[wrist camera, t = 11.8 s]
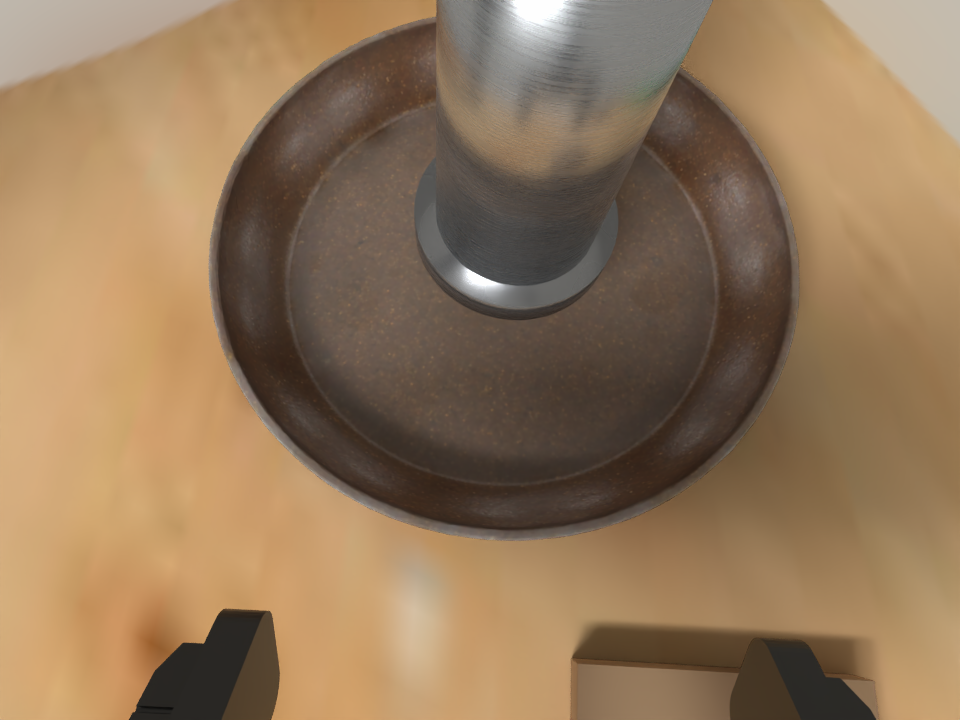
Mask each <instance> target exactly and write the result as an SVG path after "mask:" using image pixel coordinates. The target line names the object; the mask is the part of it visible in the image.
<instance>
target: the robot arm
mask: <svg viewBox="0 0 960 720" xmlns="http://www.w3.org/2000/svg"><path fill="white" fill-rule="evenodd" d="M279 677H280V671H279V662H278V655H277V647H276V640H275V632H274V625H273V618H272V614H271V612H270V611H259V610H240V609H223V610H222V611H221V612H220V613H219V614H218V616H217V618H216V620H215V622H214V624H213V626H212V628H211V630H210V632H209V634H208V636H207V639H206V641H205V643H204V644H200V643H182V644H181V645H180V646H179V647H178V648H177V649H176V650H175V651H174V652H173V653H172V654H171V655H170V656H169V657H168V658H167V659H166V660H165V661H164V662H163V663H162V664H161V665H160V666H159V667H158V668H157V669H156V670H155V672H154V673H153V675H152V677H151V679H150V681H149V683H148V685H147V687H146V689H145V690H144V692H143V694H142V696H141V698H140V700H139V702H138V704H137V705H136V706H137V708H136V711H135V713H134V712H133V713H132V715H131V717H130V719H129V720H271V718H272V715H273V712H274V709H275V705H276V700H277V695H278V689H279ZM730 720H876V718H875V716H874V714H873V713H872V711H871V709H870V708H869V707H868V706H867V705H866V704H865V703H864V702H863V701H862V700H861V699H860V698H859V697H858V696H857V695H856V694H855V693H854V692H853V691H852V689H851V688H850V687H849V686H848V685H847V684H846V683H845V682H844V681H843V680H842V679H841V678H833V677H826V676H825V675H824V673H823V671H822V669H821V667H820V665H819V663H818V661H817V659H816V658H815V656H814V654H813V652H812V650H811V649H810V647H809V646H808V645H807V644H806V643H805V642H803V641H801V640H788V639H769V638H754V639H753V640H752V641H751V643H750V645H749V647H748V650H747V653H746V655H745V658H744V661H743V664H742V666H741V669H740V672H739V674H738V677H737V680H736V682H735V685H734V688H733V690H732V693H731V697H730Z"/></svg>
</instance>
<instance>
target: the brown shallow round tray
mask: <svg viewBox="0 0 960 720" xmlns="http://www.w3.org/2000/svg"><path fill="white" fill-rule="evenodd" d="M435 157H436V17H432V18H427V19H422V20H418V21H415V22H411V23H408V24H405V25H401V26H398V27H396V28H393V29H390V30H387V31H383V32H381V33H378V34H376V35H374V36H372V37H369V38H366V39H364V40H362V41H360V42H358V43H357V44H354V45H352V46H350V47H348V48H346V49H345V50H343V51H341V52H339V53H338V54H336V55H334V56H333V57H331V58H329V59H328V60H326V61H324V62H323V63H322V64H320V65H319V66H318V67H317V68H316V69H315V70H313V71H312V72H310V73H309V74H307V75H306V76H305V77H304V78H302V79H301V80H300V81H299V82H297V83H296V84H295V85H294V86H293V87H292V88H290V89H289V90H288V91H287V92H286V93H285V94H284V95H283V96H282V97H281V98H280V99H279V100H278V101H277V102H276V103H275V104H274V105H273V106H272V107H271V108H270V110H269V111H268V112H267V113H266V114H265V116H264V117H263V118H262V119H261V121H260V122H259V123H258V124H257V125H256V126H255V128H254V130H253V131H252V133H251V134H250V136H249V137H248V139H247V141H246V142H245V144H244V145H243V147H242V148H241V150H240V153H239V155H238V156H237V158H236V159H235V161H234V163H233V165H232V167H231V170H230V172H229V174H228V176H227V179H226V182H225V184H224V187H223V189H222V194H221V197H220V199H219V202H218V205H217V209H216V213H215V218H214V224H213V229H212V234H211V239H210V252H209V286H210V297H211V303H212V311H213V316H214V321H215V325H216V328H217V332H218V336H219V339H220V343H221V346H222V349H223V351H224V354H225V357H226V359H227V362H228V364H229V367H230V369H231V371H232V373H233V375H234V377H235V379H236V381H237V383H238V385H239V387H240V388H241V390H242V392H243V393H244V395H245V397H246V399H247V400H248V402H249V403H250V405H251V406H252V408H253V409H254V411H255V412H256V413H257V415H258V416H259V417H260V419H261V420H262V422H263V423H264V424H265V426H266V427H267V428H268V430H269V431H270V432H271V433H272V434H273V435H274V436H275V437H276V439H277V440H278V441H279V442H280V443H281V444H282V445H283V446H284V447H285V448H286V449H287V450H288V451H289V452H290V453H291V454H292V455H293V456H294V457H295V458H296V459H298V460H299V461H300V462H301V463H302V464H303V465H304V466H305V467H307V468H308V469H309V470H310V471H311V472H313V473H314V474H315V475H316V476H318V477H319V478H320V479H322V480H323V481H325V482H326V483H327V484H329V485H330V486H332V487H333V488H335V489H336V490H338V491H339V492H341V493H342V494H344V495H346V496H348V497H349V498H351V499H353V500H355V501H357V502H358V503H360V504H362V505H364V506H366V507H367V508H369V509H372V510H374V511H376V512H378V513H381V514H383V515H385V516H388V517H390V518H393V519H395V520H398V521H401V522H404V523H407V524H410V525H413V526H417V527H420V528H423V529H427V530H431V531H435V532H439V533H444V534H448V535H454V536H461V537H467V538H476V539H485V540H506V541H524V540H537V539H549V538H558V537H565V536H571V535H576V534H580V533H585V532H590V531H594V530H597V529H601V528H604V527H607V526H610V525H613V524H616V523H619V522H623V521H626V520H629V519H631V518H633V517H636V516H638V515H640V514H642V513H645V512H647V511H649V510H651V509H653V508H655V507H657V506H659V505H661V504H662V503H664V502H666V501H668V500H670V499H672V498H673V497H675V496H676V495H678V494H679V493H681V492H682V491H684V490H685V489H687V488H688V487H690V486H691V485H692V484H694V483H695V482H697V481H698V480H699V479H701V478H702V477H703V476H704V475H705V474H707V473H708V472H709V471H710V470H711V469H712V468H713V467H715V466H716V465H717V464H718V463H719V462H720V461H721V460H722V459H723V458H724V457H725V456H726V455H728V454H729V453H730V452H731V451H732V450H733V449H734V447H735V446H736V445H737V444H738V442H739V441H740V440H741V439H742V437H743V436H744V435H745V434H746V432H747V431H748V430H749V429H750V427H751V426H752V425H753V423H754V422H755V421H756V419H757V418H758V416H759V415H760V413H761V412H762V410H763V409H764V407H765V405H766V403H767V401H768V399H769V398H770V396H771V394H772V392H773V390H774V388H775V386H776V384H777V382H778V380H779V377H780V375H781V372H782V370H783V367H784V364H785V362H786V359H787V356H788V353H789V350H790V346H791V343H792V339H793V335H794V331H795V326H796V318H797V311H798V306H799V260H798V251H797V245H796V238H795V235H794V230H793V225H792V222H791V218H790V215H789V211H788V208H787V204H786V201H785V199H784V196H783V194H782V191H781V188H780V186H779V184H778V181H777V179H776V177H775V175H774V173H773V171H772V169H771V167H770V165H769V163H768V162H767V160H766V158H765V157H764V155H763V154H762V152H761V150H760V149H759V147H758V146H757V144H756V142H755V141H754V139H753V138H752V137H751V135H750V134H749V133H748V131H747V129H746V128H745V127H744V126H743V125H742V123H741V122H740V121H739V120H738V119H737V118H736V117H735V116H734V115H733V113H732V112H731V111H730V110H729V109H728V108H727V107H726V106H725V105H724V103H723V102H722V101H721V100H720V99H719V98H718V97H717V96H716V95H714V94H713V93H712V92H711V91H710V90H708V89H707V88H706V87H705V86H704V85H703V84H702V83H701V82H699V81H698V80H696V79H695V78H693V77H692V76H691V75H690V74H689V73H687V72H686V71H685V70H683V69H682V68H681V67H680V68H679V70H678V72H677V74H676V76H675V78H674V80H673V82H672V84H671V86H670V88H669V90H668V92H667V94H666V96H665V98H664V100H663V102H662V104H661V106H660V108H659V110H658V112H657V114H656V116H655V118H654V120H653V122H652V124H651V126H650V129H649V131H648V133H647V135H646V137H645V139H644V141H643V143H642V145H641V147H640V149H639V151H638V153H637V155H636V157H635V159H634V161H633V163H632V165H631V167H630V169H629V171H628V173H627V175H626V177H625V179H624V181H623V183H622V185H621V187H620V189H619V191H618V193H617V195H616V197H615V200H616V205H617V209H618V233H617V238H616V243H615V246H614V248H613V251H612V254H611V256H610V258H609V259H608V261H607V263H606V265H605V266H604V268H603V270H602V272H601V273H600V275H599V277H598V279H597V280H596V282H595V283H594V284H593V286H592V287H591V288H590V290H589V291H588V292H587V293H586V294H585V295H583V296H582V297H581V298H580V299H579V300H578V301H576V302H575V303H573V304H572V305H571V306H569V307H567V308H565V309H563V310H561V311H559V312H557V313H554V314H551V315H549V316H545V317H541V318H536V319H528V320H506V319H499V318H494V317H490V316H486V315H482V314H480V313H477V312H475V311H473V310H470V309H468V308H466V307H465V306H463V305H461V304H459V303H458V302H456V301H455V300H454V299H452V298H451V297H450V296H448V295H447V294H446V293H445V292H444V291H443V290H442V289H441V288H440V287H439V286H438V285H437V284H436V283H435V281H434V280H433V279H432V278H431V276H430V275H429V273H428V271H427V270H426V268H425V266H424V264H423V262H422V260H421V257H420V255H419V251H418V247H417V244H416V235H415V221H414V202H415V197H416V191H417V188H418V185H419V182H420V179H421V177H422V176H423V174H424V172H425V170H426V168H427V167H428V165H429V164H430V163H431V161H432V160H433V159H434V158H435Z"/></svg>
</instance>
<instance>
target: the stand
mask: <svg viewBox="0 0 960 720" xmlns="http://www.w3.org/2000/svg"><path fill="white" fill-rule="evenodd" d="M740 669H741V668H730V667H713V666H696V665H679V664H662V663H645V662H628V661H611V660H594V659H577V658H571V720H730V697H731V693H732V690H733V688H734V685H735V682H736V680H737V677H738V674H739V672H740ZM824 675H825V676H826V677H833V678H841V679H842V680H843V681H844V682H845V683H846V684H847V685H848V686H849V687H850V688H851V689H852V691H853V692H854V693H855V694H856V695H857V696H858V697H859V698H860V699H861V700H862V701H863V702H864V703H865V704H866V705H867V706H868V707H869V708H870V709H871V711H872V713H873V714H874V716H875V718H876V720H879V714H878V706H877V698H876V690H875V682H874V681H872V680H869V679H865V678H862V677H858V676H855V675H850V674H833V673H824Z"/></svg>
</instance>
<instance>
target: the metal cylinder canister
mask: <svg viewBox="0 0 960 720" xmlns="http://www.w3.org/2000/svg"><path fill="white" fill-rule="evenodd" d="M712 1H713V0H437V15H436V157H435V158H434V159H433V160H432V161H431V163H430V164H429V165H428V167H427V168H426V170H425V172H424V174H423V176H422V177H421V179H420V182H419V185H418V188H417V191H416V197H415V202H414V221H415V235H416V244H417V247H418V251H419V255H420V257H421V260H422V262H423V264H424V266H425V268H426V270H427V271H428V273H429V275H430V276H431V278H432V279H433V280H434V281H435V283H436V284H437V285H438V286H439V287H440V288H441V289H442V290H443V291H444V292H445V293H446V294H447V295H448V296H450V297H451V298H452V299H454V300H455V301H456V302H458V303H459V304H461V305H463V306H465V307H466V308H468V309H470V310H473V311H475V312H477V313H480V314H482V315H486V316H490V317H494V318H499V319H506V320H528V319H536V318H541V317H545V316H549V315H551V314H554V313H557V312H559V311H561V310H563V309H565V308H567V307H569V306H571V305H572V304H573V303H575V302H576V301H578V300H579V299H580V298H581V297H582V296H583V295H585V294H586V293H587V292H588V291H589V290H590V288H591V287H592V286H593V284H594V283H595V282H596V280H597V279H598V277H599V275H600V273H601V272H602V270H603V268H604V266H605V265H606V263H607V261H608V259H609V258H610V256H611V254H612V251H613V248H614V246H615V243H616V238H617V233H618V209H617V205H616V200H615V197H616V195H617V193H618V191H619V189H620V187H621V185H622V183H623V181H624V179H625V177H626V175H627V173H628V171H629V169H630V167H631V165H632V163H633V161H634V159H635V157H636V155H637V153H638V151H639V149H640V147H641V145H642V143H643V141H644V139H645V137H646V135H647V133H648V131H649V129H650V126H651V124H652V122H653V120H654V118H655V116H656V114H657V112H658V110H659V108H660V106H661V104H662V102H663V100H664V98H665V96H666V94H667V92H668V90H669V88H670V86H671V84H672V82H673V80H674V78H675V76H676V74H677V72H678V70H679V68H680V66H681V64H682V62H683V60H684V58H685V56H686V54H687V52H688V50H689V48H690V46H691V44H692V42H693V40H694V38H695V36H696V34H697V32H698V30H699V27H700V25H701V23H702V21H703V19H704V17H705V15H706V13H707V11H708V9H709V7H710V5H711V3H712Z"/></svg>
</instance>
